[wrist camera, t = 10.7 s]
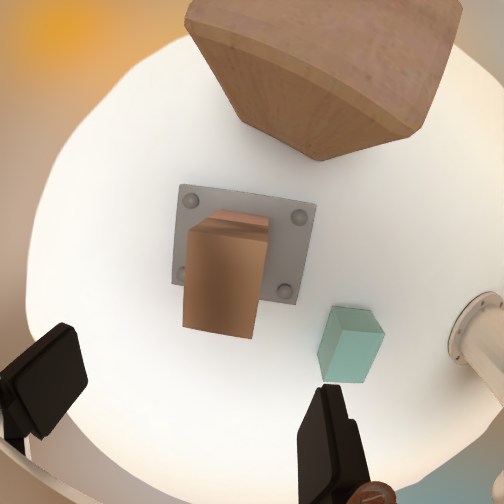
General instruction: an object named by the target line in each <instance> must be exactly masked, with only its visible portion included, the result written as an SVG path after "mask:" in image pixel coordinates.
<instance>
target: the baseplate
mask: <svg viewBox="0 0 504 504" xmlns="http://www.w3.org/2000/svg"><path fill="white" fill-rule="evenodd" d="M315 210H316V205H315V204H311V203H306V202H300V201H294V200H289V199H283V198H277V197H271V196H265V195H258V194H252V193H245V192H238V191H231V190H224V189H216V188H209V187H201V186H192V185H183V184H182V185H179V194H178V203H177V213H176V224H175V235H174V249H173V265H172V284H175V285H180V286H184V277H185V261H186V247H187V234H188V230H189V229H191V228H192V227H194V226H195V225H197V224H198V223H200V222H201V221H203V220H204V219H206V218H207V217H208V218H215V219H222V220H229V221H236V222H243V223H250V224H257V225H263V226H269V230H268V245H267V251H266V258H265V264H264V270H263V276H262V282H261V288H260V294H259V300H265V301H272V302H278V303H285V304H292V305H296V301H297V297H298V292H299V288H300V284H301V279H302V275H303V270H304V266H305V261H306V256H307V251H308V246H309V241H310V237H311V231H312V226H313V221H314V216H315Z"/></svg>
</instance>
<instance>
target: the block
mask: <svg viewBox="0 0 504 504" xmlns="http://www.w3.org/2000/svg"><path fill="white" fill-rule="evenodd" d="M462 10H463V8H462V6H461V3H460V2H459V1H458V0H193V1H192V2H191V3H190V5H189V7H188V10H187V12H186V15H185V21H184V23H185V24H184V26H185V28H186V29H187V31H188V32H189V34H190V36H191V37H192V39H193V40H194V42H195V44H196V45H197V47H198V48H199V50H200V52H201V53H202V55H203V57H204V58H205V60H206V62H207V63H208V65H209V67H210V68H211V70H212V72H213V73H214V75H215V77H216V78H217V80H218V82H219V84H220V85H221V87H222V89H223V90H224V92H225V94H226V96H227V97H228V99H229V101H230V103H231V105H232V106H233V108H234V110H235V112H236V114H237V115H238V117H239V118H240V119H241V120H242V121H243V122H245V123H247V124H249V125H251V126H253V127H255V128H257V129H259V130H261V131H263V132H265V133H267V134H269V135H270V136H272V137H274V138H276V139H278V140H280V141H282V142H284V143H285V144H287V145H289V146H291V147H293V148H295V149H296V150H298V151H300V152H302V153H303V154H305V155H307V156H309V157H310V158H312V159H314V160H318V161H324V160H327V159H331V158H334V157H337V156H341V155H344V154H348V153H351V152H355V151H358V150H362V149H366V148H369V147H373V146H377V145H381V144H384V143H388V142H392V141H396V140H400V139H404V138H409V137H410V136H411V135H413V134H414V133H415V132H416V131H418V130H419V129H420V128H421V127H422V125H423V123H424V121H425V118H426V116H427V114H428V111H429V109H430V106H431V104H432V102H433V99H434V97H435V94H436V91H437V89H438V86H439V84H440V81H441V78H442V76H443V73H444V70H445V67H446V64H447V61H448V58H449V55H450V52H451V49H452V46H453V43H454V39H455V36H456V33H457V29H458V25H459V22H460V18H461V14H462Z"/></svg>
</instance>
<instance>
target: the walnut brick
mask: <svg viewBox="0 0 504 504" xmlns="http://www.w3.org/2000/svg"><path fill="white" fill-rule="evenodd" d="M268 230H269V226H263V225H257V224H250V223H243V222H236V221H229V220H222V219H215V218H208V217H207V218H206V219H204V220H203V221H201V222H200V223H198V224H197V225H195V226H194V227H192V228H191V229H189V230H188V234H187V247H186V261H185V277H184V297H183V327H186V328H191V329H196V330H201V331H206V332H211V333H217V334H223V335H228V336H234V337H240V338H247V339H252V336H253V330H254V324H255V318H256V312H257V306H258V300H259V294H260V288H261V282H262V276H263V270H264V264H265V258H266V251H267V245H268Z"/></svg>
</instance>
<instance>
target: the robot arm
mask: <svg viewBox="0 0 504 504" xmlns="http://www.w3.org/2000/svg"><path fill="white" fill-rule="evenodd" d="M448 350H449V355H450V357H451V358H452V360H453V361H454V362H455V363H457V364H460V365H465V364H470V366H471V367H472V368H473V369H474V370H475V372H476V373H477V374H478V375H479V376H480V378H481V379H482V380H483V381H484V383H485V384H486V385H487V386H488V388H489V389H490V390H491V392H492V393H493V394H494V396H495V397H496V398H497V399H498V401H499V402H500V403H501V405H502V406H503V407H504V301H503V299H502V298H501V297H500V296H499V295H498V294H496V293H494V292H488V293H484V294H482V295H480V296H479V297H477V298H476V299H474V300H473V301H472V302H471V303H470V304H469V305H468V306H467V307H466V309H465V310H464V311H463V313H462V314H461V315H460V317H459V319H458V320H457V322H456V324H455V326H454V328H453V330H452V333H451V336H450V340H449V348H448ZM0 377H1V379H0V504H103V503H100V502H98V501H96V500H94V499H92V498H90V497H88V496H86V495H84V494H83V493H80V492H79V491H77V490H75V489H74V488H72V487H70V486H68V485H67V484H65V483H63V482H61V481H60V480H58V479H57V478H55V477H54V476H52V475H51V474H49V473H48V472H46V471H45V470H43V469H42V468H40V467H39V466H37V465H36V464H35V463H33V462H32V461H31V454H30V446H29V437H28V435H29V434H30V432H31V433H32V434H33V435H34V436H36V437H37V438H38V439H40V440H42V439H43V438H44V437H46V436H48V435H49V434H50V433H51V431H52V430H53V429H54V427H55V426H56V425H57V423H58V422H59V421H60V420H61V418H62V417H63V416H64V414H65V413H66V412H67V410H68V409H69V408H70V407H71V405H72V404H73V403H74V402H75V400H76V399H77V398H78V397H79V395H80V394H81V393H82V392H83V390H84V389H85V388H86V386H87V384H88V378H87V374H86V370H85V367H84V363H83V359H82V354H81V350H80V345H79V341H78V336H77V333H76V332H75V329H74V327H72V326H70V325H67V324H65V323H63V322H61V323H59V324H58V325H56V326H55V327H54V328H52V329H51V330H50V331H49V332H47V333H46V334H45V335H44V336H43V337H41V338H40V339H39V340H38V341H36V342H35V343H34V344H33V345H32V346H30V347H29V348H28V349H27V350H26V351H24V352H23V353H22V354H21V355H20V356H18V357H17V358H16V359H15V360H14V361H13V362H12V363H10V364H9V365H8V366H7V367H6V368H5V369H4V370H2V371H1V372H0ZM297 457H298V496H299V504H397V503H396V494H395V492H394V490H393V489H392V488H391V487H390V486H389V485H387V484H386V483H383V482H379V481H372V482H371V480H370V476H369V471H368V467H367V462H366V458H365V454H364V450H363V446H362V442H361V438H360V434H359V430H358V426H357V423H356V421H355V420H354V419H349V418H348V414H347V410H346V406H345V402H344V398H343V394H342V390H341V387H340V385H334V384H323V386H322V388H320V387H318V388H317V389H316V391H315V394H314V396H313V399H312V401H311V403H310V406H309V408H308V410H307V413H306V415H305V417H304V419H303V421H302V424H301V426H300V428H299V430H298V433H297ZM492 501H493V504H504V470H503V471H502V472H501V473H500V475H499V476H498V477H497V479H496V480H495V483H494V484H493V488H492Z"/></svg>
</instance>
